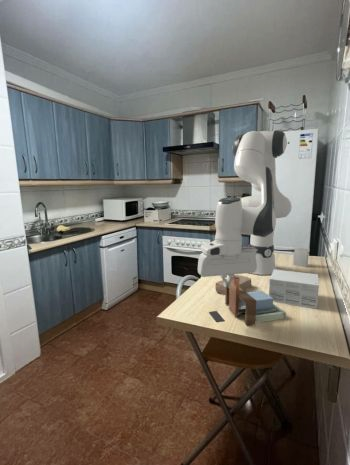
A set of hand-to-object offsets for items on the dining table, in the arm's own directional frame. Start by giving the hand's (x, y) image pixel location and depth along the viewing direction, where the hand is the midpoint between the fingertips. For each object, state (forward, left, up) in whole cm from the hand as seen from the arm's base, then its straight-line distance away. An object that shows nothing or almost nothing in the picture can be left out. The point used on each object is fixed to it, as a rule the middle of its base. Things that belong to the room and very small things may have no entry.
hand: (227, 286), depth 88 cm
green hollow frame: (0, +13, -11) cm, 16 cm away
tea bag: (-41, +63, -11) cm, 76 cm away
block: (0, +12, -11) cm, 16 cm away
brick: (-20, +13, -11) cm, 26 cm away
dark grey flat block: (0, -4, -11) cm, 11 cm away
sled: (0, +9, -10) cm, 13 cm away
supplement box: (-6, +31, -11) cm, 34 cm away
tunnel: (0, +5, -11) cm, 11 cm away
